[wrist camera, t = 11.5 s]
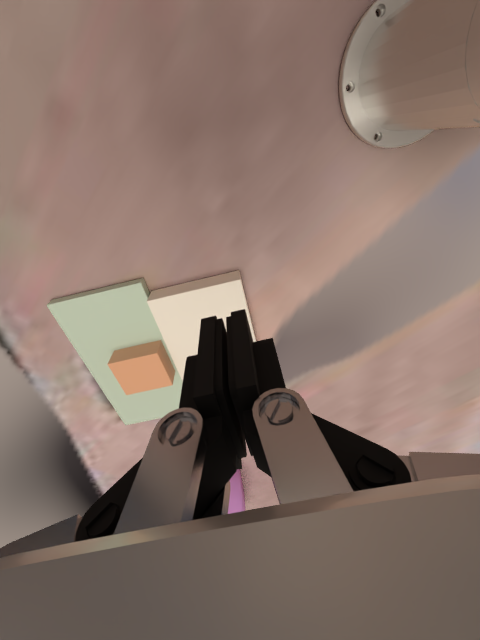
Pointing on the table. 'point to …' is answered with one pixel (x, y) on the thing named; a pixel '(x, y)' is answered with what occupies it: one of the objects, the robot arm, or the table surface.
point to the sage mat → (116, 343)
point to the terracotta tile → (142, 367)
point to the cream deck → (195, 311)
